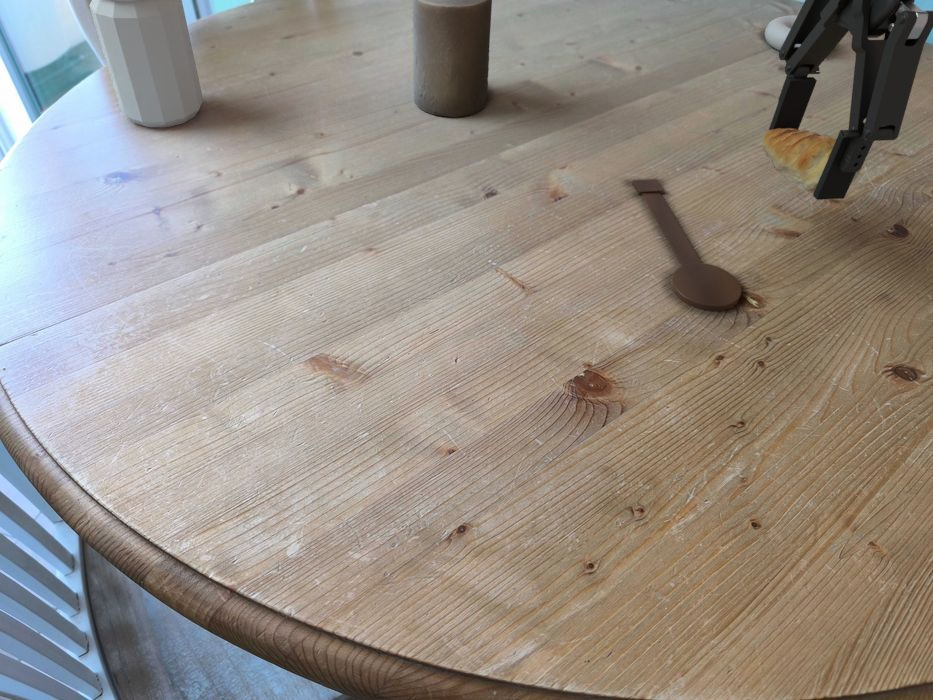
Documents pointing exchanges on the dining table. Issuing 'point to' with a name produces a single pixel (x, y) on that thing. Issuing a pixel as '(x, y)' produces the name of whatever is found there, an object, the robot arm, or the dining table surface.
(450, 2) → the pillar candle
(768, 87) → the dining table surface
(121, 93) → the jar
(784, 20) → the donut
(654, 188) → the spoon
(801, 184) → the pastry
